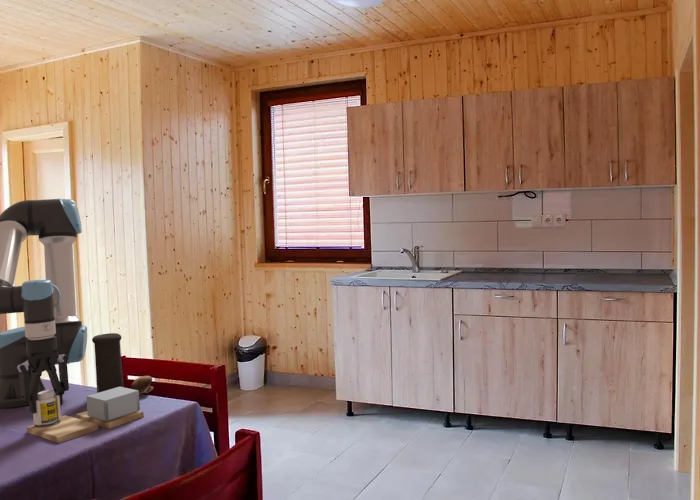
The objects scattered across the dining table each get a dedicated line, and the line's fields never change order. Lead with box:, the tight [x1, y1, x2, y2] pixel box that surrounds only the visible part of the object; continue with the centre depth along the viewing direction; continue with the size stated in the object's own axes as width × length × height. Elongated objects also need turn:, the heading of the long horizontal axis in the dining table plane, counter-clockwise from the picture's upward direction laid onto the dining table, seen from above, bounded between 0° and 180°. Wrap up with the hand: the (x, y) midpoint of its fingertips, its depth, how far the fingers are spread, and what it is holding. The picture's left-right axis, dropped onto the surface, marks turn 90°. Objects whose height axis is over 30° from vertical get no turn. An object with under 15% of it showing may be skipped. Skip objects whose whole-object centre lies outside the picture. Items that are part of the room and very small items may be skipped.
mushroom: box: [130, 375, 155, 396], centre depth 202 cm, size 8×8×6 cm
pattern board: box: [75, 410, 145, 430], centre depth 179 cm, size 16×11×4 cm
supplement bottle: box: [38, 389, 57, 425], centre depth 171 cm, size 5×5×8 cm
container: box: [91, 332, 125, 393], centre depth 202 cm, size 9×9×20 cm
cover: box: [86, 387, 141, 421], centre depth 177 cm, size 9×11×6 cm
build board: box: [26, 415, 99, 444], centre depth 170 cm, size 17×11×2 cm, turn 54°
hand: (47, 421), depth 172 cm, fingers closed on supplement bottle, 5 cm apart
